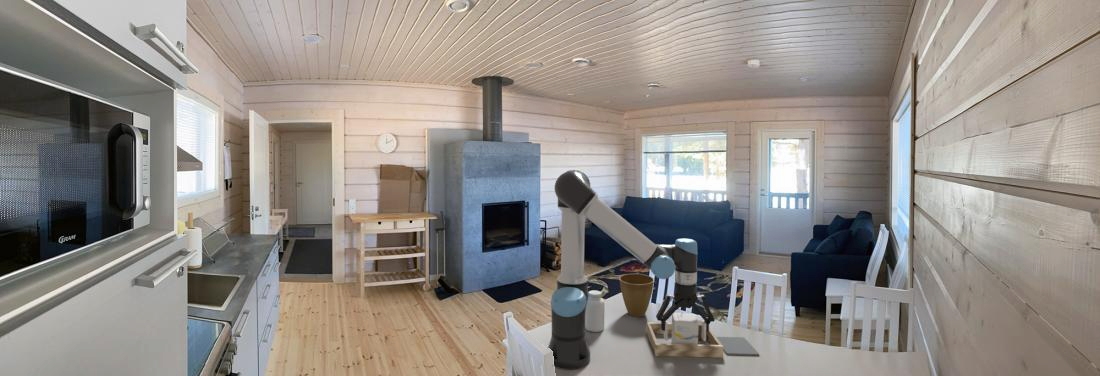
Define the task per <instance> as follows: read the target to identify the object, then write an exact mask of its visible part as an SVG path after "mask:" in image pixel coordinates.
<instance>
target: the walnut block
mask: <svg viewBox="0 0 1100 376" xmlns="http://www.w3.org/2000/svg"><path fill="white" fill-rule="evenodd" d="M702 321H703V320H698V342H699V341H700V342H701V341H703V339H702ZM706 335H707V331H706ZM703 342H704V341H703Z"/></svg>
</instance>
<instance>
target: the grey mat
mask: <svg viewBox="0 0 1100 376" xmlns="http://www.w3.org/2000/svg"><path fill="white" fill-rule="evenodd" d="M716 337H717V339H718V340H719V341H720V343H721V344H722V345H723V353H725V354H726V355H727V356H753V357H755V356H756V357H757V356H758V357H759V356H760V353H759V352H758V351H757V350H756V349H755V347H753V346H752V344H751V343H750V342H749V341H748V340H747V339H746V338H745V337H742V336H739V337H738V336H716Z"/></svg>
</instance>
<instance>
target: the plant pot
mask: <svg viewBox="0 0 1100 376" xmlns="http://www.w3.org/2000/svg"><path fill="white" fill-rule="evenodd" d="M654 283H655V278H653V277H652V276H650V275H647V274H643V273H627V274H626V273H625V274H622V275H620V276H619V285H620V291H621V296H622V299H623V302H624V306H625V308H626V309H625V310H626V311H627V314H628V315H629V316H632V317H634V318H640V317H641V318H642V317H644V316H645V315H646V313H647V310H648V307H649V304H650V301H651V298H652V294H653V289H654Z"/></svg>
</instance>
